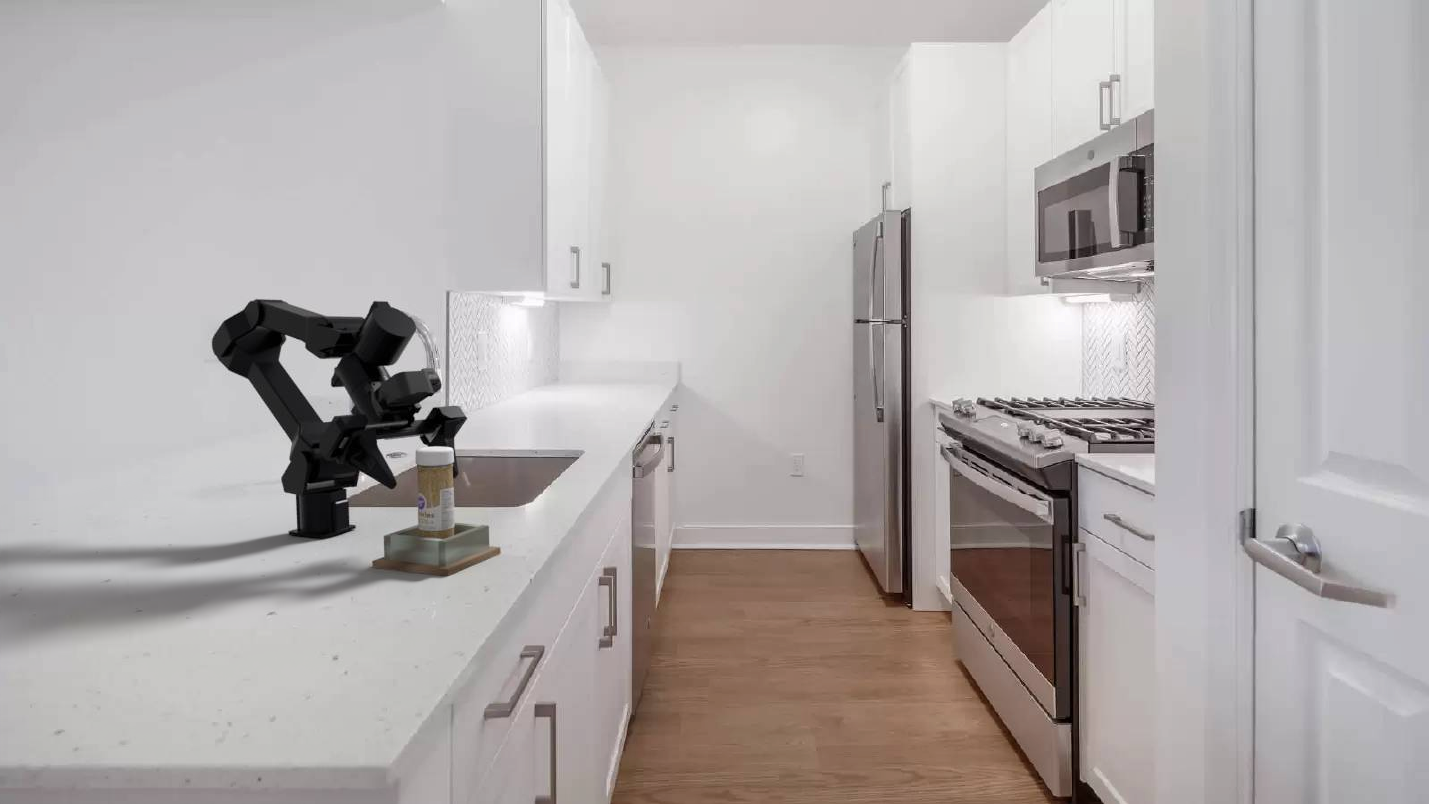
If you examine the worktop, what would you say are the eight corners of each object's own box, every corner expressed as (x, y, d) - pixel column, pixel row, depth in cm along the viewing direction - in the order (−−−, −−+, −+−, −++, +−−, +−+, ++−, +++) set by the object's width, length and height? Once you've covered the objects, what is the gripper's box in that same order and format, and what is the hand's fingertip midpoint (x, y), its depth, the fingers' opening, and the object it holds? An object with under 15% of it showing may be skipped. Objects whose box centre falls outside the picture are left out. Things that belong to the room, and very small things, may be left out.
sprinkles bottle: (410, 555, 109) (407, 449, 108) (437, 547, 113) (434, 444, 112) (437, 560, 107) (434, 451, 105) (464, 551, 111) (461, 446, 109)
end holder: (372, 567, 106) (371, 536, 106) (429, 546, 117) (429, 518, 116) (448, 576, 103) (447, 544, 102) (500, 553, 113) (499, 524, 113)
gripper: (329, 349, 104) (386, 449, 99) (457, 346, 119) (512, 433, 114) (295, 410, 109) (348, 508, 104) (422, 400, 124) (474, 485, 119)
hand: (426, 481), depth 110 cm, fingers open, 9 cm apart
